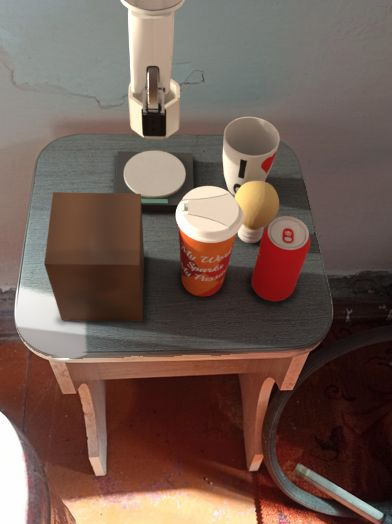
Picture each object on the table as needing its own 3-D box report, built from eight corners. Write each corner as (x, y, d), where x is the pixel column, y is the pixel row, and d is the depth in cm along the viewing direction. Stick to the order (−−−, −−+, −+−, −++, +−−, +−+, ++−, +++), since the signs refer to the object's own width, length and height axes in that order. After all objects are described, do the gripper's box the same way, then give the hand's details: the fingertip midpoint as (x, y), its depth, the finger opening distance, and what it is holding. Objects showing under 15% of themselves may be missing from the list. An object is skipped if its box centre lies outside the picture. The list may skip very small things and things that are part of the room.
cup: (225, 209, 87) (233, 160, 78) (211, 171, 91) (217, 120, 82) (275, 200, 89) (287, 151, 80) (258, 163, 92) (269, 113, 83)
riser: (61, 320, 77) (44, 264, 65) (68, 255, 82) (52, 191, 70) (142, 321, 77) (139, 264, 66) (144, 256, 82) (141, 193, 71)
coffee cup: (172, 301, 79) (174, 232, 66) (175, 254, 83) (177, 180, 69) (231, 305, 79) (245, 237, 66) (231, 258, 83) (245, 184, 70)
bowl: (130, 138, 77) (127, 108, 73) (131, 104, 80) (129, 73, 76) (179, 139, 77) (180, 109, 73) (178, 105, 81) (179, 74, 76)
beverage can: (293, 270, 83) (313, 215, 72) (293, 306, 80) (313, 254, 69) (251, 265, 83) (264, 210, 72) (249, 301, 80) (262, 248, 69)
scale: (115, 210, 86) (114, 201, 84) (118, 158, 91) (117, 148, 89) (193, 212, 87) (194, 203, 85) (192, 159, 92) (192, 150, 90)
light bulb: (269, 220, 87) (281, 172, 78) (271, 253, 84) (284, 207, 75) (228, 218, 86) (235, 170, 78) (228, 251, 84) (236, 205, 75)
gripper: (120, -64, 66) (129, 73, 82) (114, 30, 58) (125, 161, 74) (184, -61, 66) (180, 74, 82) (187, 32, 58) (182, 162, 74)
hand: (154, 114), depth 78 cm, fingers closed on bowl, 6 cm apart
